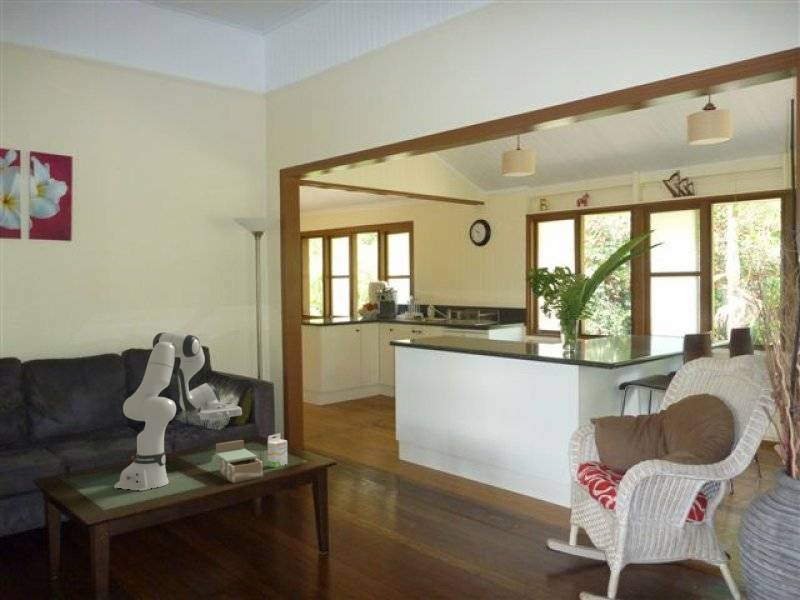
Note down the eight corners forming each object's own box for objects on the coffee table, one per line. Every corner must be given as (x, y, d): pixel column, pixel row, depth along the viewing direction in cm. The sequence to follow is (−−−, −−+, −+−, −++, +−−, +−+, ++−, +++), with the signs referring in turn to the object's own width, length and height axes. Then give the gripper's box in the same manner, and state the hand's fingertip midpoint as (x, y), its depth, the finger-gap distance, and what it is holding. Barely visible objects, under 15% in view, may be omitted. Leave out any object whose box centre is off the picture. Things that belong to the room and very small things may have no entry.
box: (220, 473, 304) (219, 458, 303) (249, 468, 311) (248, 453, 311) (232, 482, 288) (232, 467, 288) (262, 477, 296) (262, 461, 296)
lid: (215, 454, 309) (214, 444, 309) (243, 449, 317) (243, 439, 317) (227, 462, 294) (226, 451, 294) (257, 457, 302) (256, 447, 302)
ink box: (274, 468, 310) (274, 437, 310) (267, 466, 313) (266, 436, 313) (288, 464, 317) (287, 433, 317) (281, 462, 320) (280, 432, 320)
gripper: (195, 407, 323) (203, 412, 311) (236, 402, 334) (245, 406, 322) (195, 420, 323) (204, 425, 311) (236, 415, 334) (245, 419, 322)
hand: (225, 415), depth 317 cm, fingers closed
